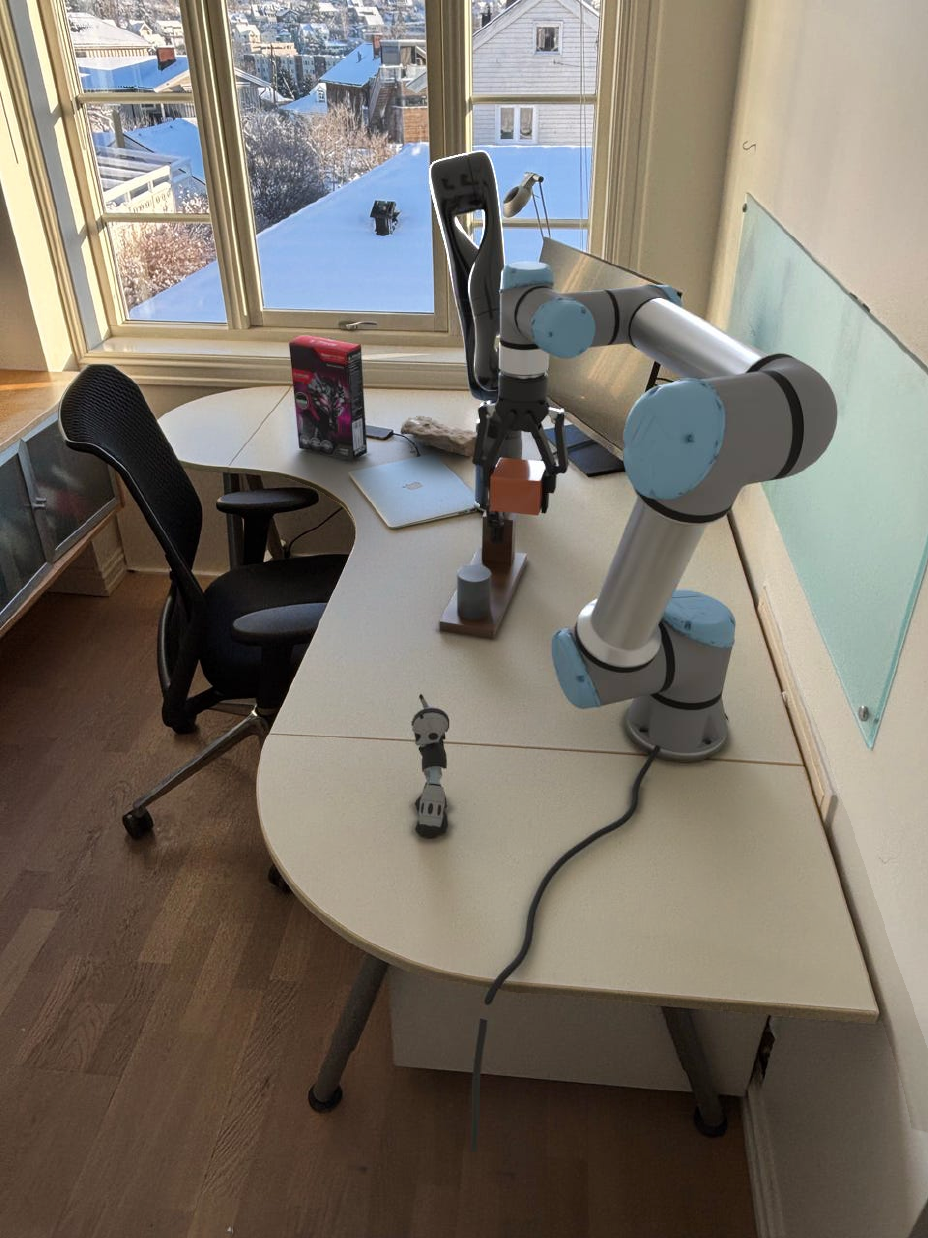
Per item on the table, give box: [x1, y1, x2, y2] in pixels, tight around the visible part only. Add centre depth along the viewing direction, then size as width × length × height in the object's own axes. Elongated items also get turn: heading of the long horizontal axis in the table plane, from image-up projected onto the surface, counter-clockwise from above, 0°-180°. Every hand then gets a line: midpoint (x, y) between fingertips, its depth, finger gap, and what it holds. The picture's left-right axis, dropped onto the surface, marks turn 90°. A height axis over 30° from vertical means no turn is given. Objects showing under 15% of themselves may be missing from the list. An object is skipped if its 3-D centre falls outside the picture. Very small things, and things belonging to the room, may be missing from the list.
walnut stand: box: [439, 511, 528, 640], centre depth 172 cm, size 28×10×12 cm, turn 165°
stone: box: [400, 415, 476, 457], centre depth 232 cm, size 21×15×6 cm
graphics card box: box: [288, 334, 368, 462], centre depth 223 cm, size 17×7×27 cm, turn 62°
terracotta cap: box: [490, 458, 546, 516], centre depth 150 cm, size 8×8×6 cm
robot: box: [410, 693, 450, 839], centre depth 122 cm, size 20×5×20 cm, turn 3°
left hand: (498, 537), depth 180 cm, fingers closed on walnut stand, 3 cm apart
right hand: (518, 507), depth 152 cm, fingers closed on terracotta cap, 8 cm apart
